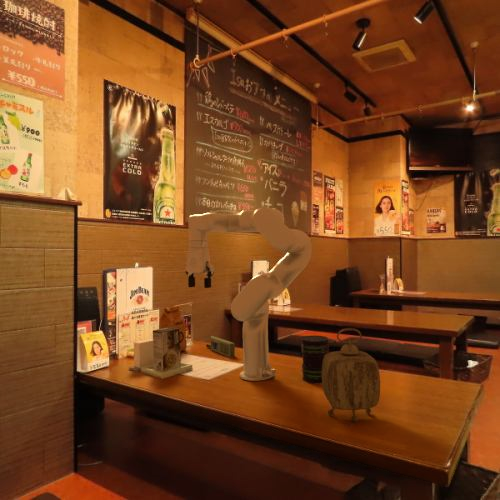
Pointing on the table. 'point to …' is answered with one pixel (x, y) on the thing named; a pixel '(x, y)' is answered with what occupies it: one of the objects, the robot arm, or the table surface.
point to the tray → (152, 372)
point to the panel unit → (142, 354)
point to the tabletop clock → (350, 378)
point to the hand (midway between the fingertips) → (199, 287)
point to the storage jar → (313, 357)
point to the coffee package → (174, 323)
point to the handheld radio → (222, 346)
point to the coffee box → (166, 349)
